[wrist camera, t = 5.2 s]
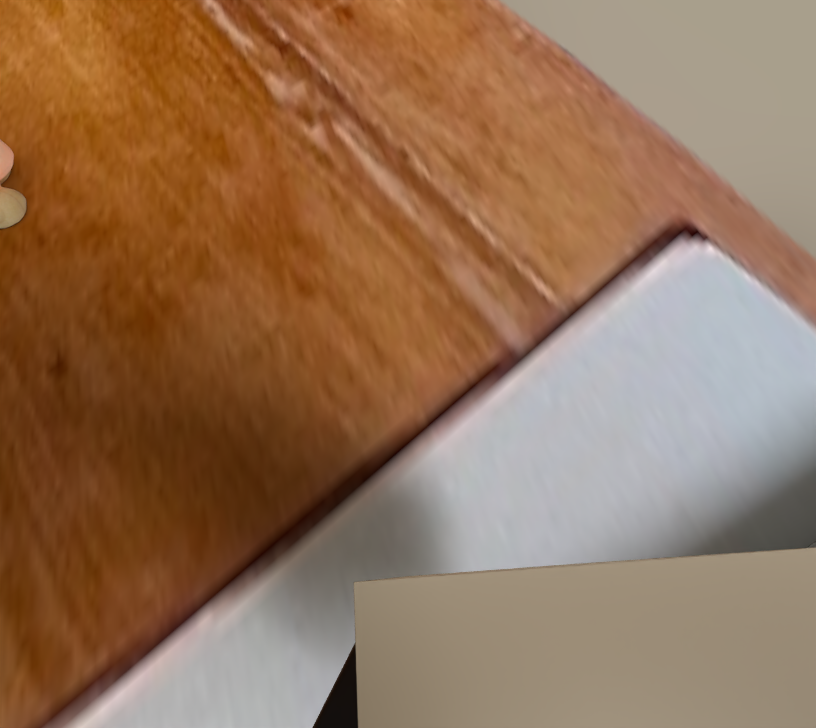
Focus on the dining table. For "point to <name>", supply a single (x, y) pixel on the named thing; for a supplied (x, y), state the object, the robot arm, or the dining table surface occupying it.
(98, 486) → the dining table surface
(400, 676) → the cream block
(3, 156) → the grandmother figurine
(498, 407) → the dining table surface
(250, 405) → the dining table surface
